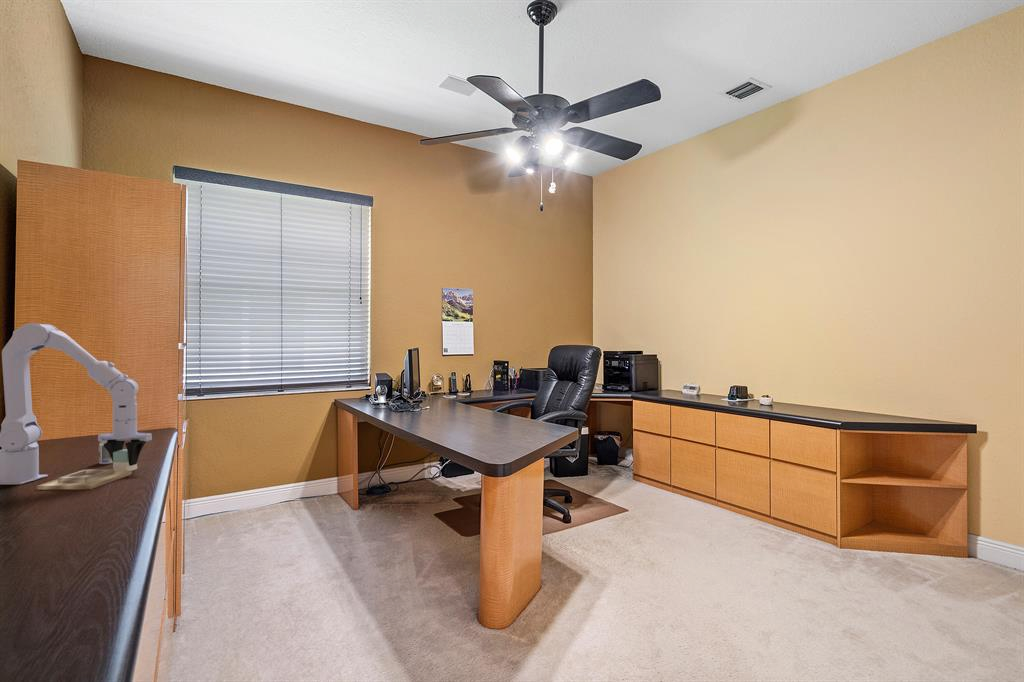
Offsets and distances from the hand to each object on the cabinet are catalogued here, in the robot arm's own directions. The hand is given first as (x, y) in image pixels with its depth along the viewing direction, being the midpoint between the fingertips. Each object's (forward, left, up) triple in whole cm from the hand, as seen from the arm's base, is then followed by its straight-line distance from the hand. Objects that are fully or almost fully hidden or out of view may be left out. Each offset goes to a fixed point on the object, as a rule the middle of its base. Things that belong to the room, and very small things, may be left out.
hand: (125, 464), depth 145 cm
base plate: (-2, -11, -2) cm, 11 cm away
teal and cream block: (0, 0, -2) cm, 2 cm away
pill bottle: (-13, +10, -2) cm, 17 cm away
